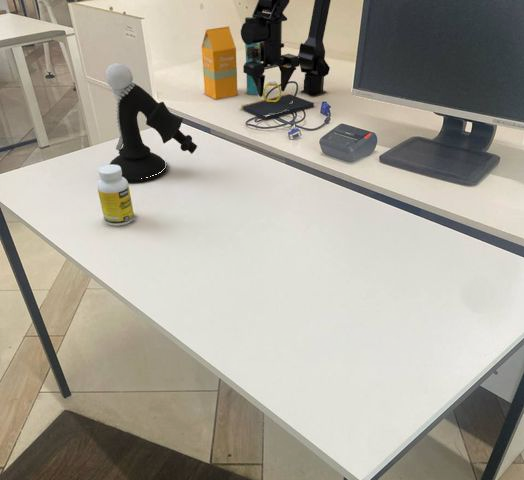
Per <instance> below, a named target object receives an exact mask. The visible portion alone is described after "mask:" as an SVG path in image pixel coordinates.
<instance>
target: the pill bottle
mask: <svg viewBox="0 0 524 480" xmlns="http://www.w3.org/2000/svg"><path fill="white" fill-rule="evenodd" d="M109 164H110V163H109ZM109 164H104V165H102V166H100V167H99V168H98V169H97V171H98V177H99V178H100V179H99V180H98V182H97V183H96V188H97V193H98V197H99V201H100V207H101V211H102V215H103V219H104V222H105V223H106V224H108V225H110V226H124V225H127V224H130V223H131V222H132V221H133V220H134V218H135V213H134V207H133V201H132V196H131V192H130V191H131V190H130V185H129V183H128V181H127V180H126V179H125V178H124V177H122V170H121V167H120V166H118V165H113V164H110V165H109Z"/></svg>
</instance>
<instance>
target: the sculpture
mask: <svg viewBox="0 0 524 480" xmlns="http://www.w3.org/2000/svg"><path fill="white" fill-rule="evenodd" d="M105 80H106V83H107V85H108V86H109V87H110V89H109V90H110V91H111V92H112V93H113V96H114V100H115V102H116V110H115V111H116V123H117V128H118V131H119V133H118V134H119V139H118V141H117V144H116V147H115V150H116V151H118V154H119V155H117V156H116V157H115V158H113V159H112V160H111V161H110V162H109V164H108V165H110V164H113V165H118V166H120V167H121V170H122V177H124V178H125V179H126V180H127V181H128V184H137V183H138V184H141V183H146V182H151V181H155V180H156V179H158V178H160V177H162V176H164V175H165V174H166V172H167V171H168V165H167V166H166V168H165V161H166V160H165V159H164V158H162V157H161V156H160V155H158V154H156V153H154V152H151V150H152V149H151V147H149V146H147V145H146V144H145V143H144V142H143V139H142V135H141V131H140V127H139V122H138V121H139V120H138V116H139V113H141V114H143V115H144V117H145V118H146V121H145V125H146V126H148V127H150V128H152V129H153V130H155V131H156V132H157V133H158V135H159V136H160V138H161V140H162V143H163V144H166V143H168V142H169V141H171V140H172V139H173V140H174V141H176V142H177V143H178V144H179V145H180V147H179V148H180V150H181V151H183V152H189V153H190V155H192V154H193V153H194V152H195V151H196V150H197V148H198V145H197V144H196V143H195V142H194V141H193V137H192V135H190V134H187V135H185V134H184V133H183V132H182V131H181V130H180V128H181V127H182V123H183V120H184V118H183V117H179V116H176V115H175V114H173V113H172V112H171V111H170V110H169V109H168V107H167V106H166V104H165V102H164V101H160V102H158V101H157V100H156V99H155V98H153V96H152V95H151V94H150V93H149V92H147V91H146V90H145V89H144V88H143V87H141V86H140V85H138V84H136V83H135V82H134V81H133V80H134V75H133V72H132V70H131V69H130V68H129V67H128V66H127V65H126V64H124V63H120V62H115V63H112V64H111V65H109V66H107V69H106V70H105ZM163 159H164V160H165V161H164V160H163ZM164 168H165V169H164ZM163 169H164V170H163ZM162 170H163V171H162ZM161 171H162V172H161ZM159 172H161V173H159ZM158 173H159V174H158ZM155 174H157V175H155ZM152 175H154V176H152ZM150 176H151V177H150ZM146 177H148V178H146ZM141 178H142V179H141Z"/></svg>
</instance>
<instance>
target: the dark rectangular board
mask: <svg viewBox="0 0 524 480" xmlns="http://www.w3.org/2000/svg"><path fill="white" fill-rule="evenodd" d="M278 97H279V95H277V96H273V97H269V98H266V99H267V100H276V99H278ZM292 100H293V104H289V103H290V102H291V101H292ZM314 106H315V103H314V102H312V101H309V100H308V99H304V98H301V97H299V96H296V95H293V94H291V93H284V94H281V97H280V99H279V101H277V102H276V103H275V102H267V101H266V100H265V99H262V100H258V101H257V100H256V101H254V102H249V103H246V104H242V105H241V106H240V110H242V111H244V112H247V113H249V114H251V115H253V116H256V117H258V118H260V119H262V120H264V121H268V120H272V119H275V118H280V117H283V116H285V115H289V114H294V113H297V112H300V111H303V110H307V109H310V108H314ZM285 109H287V110H289V111H286V112H282V113H279V114H275V115H271V116H268V117H265V116H263V115H267V114H269V113H278V112H281V111H283V110H285Z"/></svg>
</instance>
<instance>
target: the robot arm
mask: <svg viewBox="0 0 524 480" xmlns="http://www.w3.org/2000/svg"><path fill="white" fill-rule="evenodd" d="M331 1H332V0H314V3H313V8H312V13H311V17H310V18H311V19H310V24H309V30H308V34H307V39H306V40H305V41H304V42H303V43H302V42H301V43H300V44H299V51H298V54H297V55H295V54H292V53H285V54H282V49H283V48H285V43H283V42H282V39H283V38H282V37H283V33H282V31H283V30H282V29H283V22H286V21H288V17H287V16H286V15H285V14H284V11H285V10H286V9H287V7H288V6H289V4H290V0H258V1H257V3H256V6H255V8H254V10H253V12H252V14H251V17H250V16H246V17H245V18H244V23H243V24H242V25H241V28H240V37H241V40H242V42H243V43H244V45H245V44H247V45H250V44H255V43H259V42H260V48H258V49H255V47H254V46H252V47H248V48H247V57H248V59H252V61H251V62H247V63H246V62H245V63H244V64H243V65H242V66H243V67H242V68H243V73H244V74H247V75H249V76H251V77H252V78H253V80H254V83H255V85H256V88H257V91H258V94H257V95H258V96H259V97H260V98H262V97H263V89H264V87H265V79H266V75H265V70H269V69H274V68H278V69H279V71H280V89H281V92H285V90H286V88H287V87H288V84H289V81H290V79H291V77H292V76H293V74H294V72H295V71H297V68H298V67H299V69H300V72H301V73H304V79H303V88H302V90H300V92H301V93H303V94H304V95H307V96H311V97H316V96H320V95H324V94H326V93H327V91H326V90H324V86H325V85H324V84H325V77H326V76H328V75H329V73H330V69H331V67H330V66H329V64H328V63H327V61H326V49H325V45H324V36H325V31H326V27H327V21H328V16H329V11H330V5H331ZM256 60H259V61H260V62H262V63H259V62H256ZM247 75H246V76H247Z"/></svg>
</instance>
